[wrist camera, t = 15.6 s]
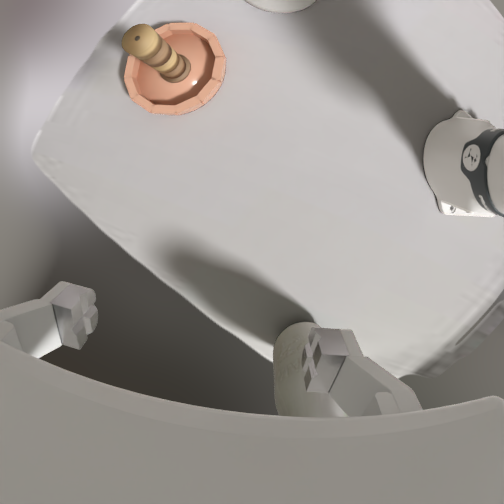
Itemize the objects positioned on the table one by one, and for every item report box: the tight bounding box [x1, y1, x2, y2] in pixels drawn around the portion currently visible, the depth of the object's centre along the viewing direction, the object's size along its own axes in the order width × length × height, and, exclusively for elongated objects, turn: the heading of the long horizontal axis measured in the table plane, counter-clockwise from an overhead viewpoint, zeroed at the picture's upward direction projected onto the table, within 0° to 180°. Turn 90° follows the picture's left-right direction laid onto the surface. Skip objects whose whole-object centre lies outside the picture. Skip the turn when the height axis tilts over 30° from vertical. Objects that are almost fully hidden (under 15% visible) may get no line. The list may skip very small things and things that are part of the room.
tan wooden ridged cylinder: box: [122, 24, 191, 83], centre depth 27 cm, size 4×4×14 cm
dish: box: [124, 23, 226, 115], centre depth 33 cm, size 14×14×3 cm
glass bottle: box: [273, 322, 348, 417], centre depth 37 cm, size 10×10×28 cm
